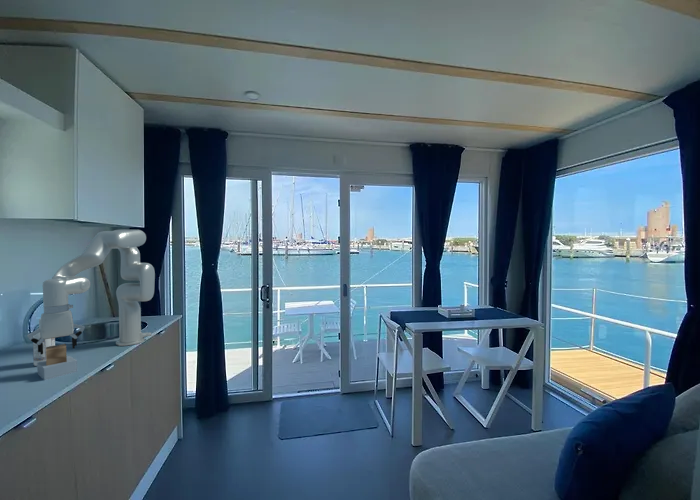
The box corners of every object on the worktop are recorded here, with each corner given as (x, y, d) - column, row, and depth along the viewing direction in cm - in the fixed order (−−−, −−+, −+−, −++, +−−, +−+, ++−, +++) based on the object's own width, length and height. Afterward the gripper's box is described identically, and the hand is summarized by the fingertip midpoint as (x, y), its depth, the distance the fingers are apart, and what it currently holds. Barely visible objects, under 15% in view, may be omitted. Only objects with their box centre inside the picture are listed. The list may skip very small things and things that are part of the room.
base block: (69, 367, 138) (69, 355, 138) (77, 372, 132) (77, 360, 132) (37, 374, 130) (37, 362, 130) (44, 381, 124) (44, 368, 124)
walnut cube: (66, 357, 135) (65, 343, 135) (66, 361, 131) (66, 347, 131) (46, 361, 131) (46, 347, 131) (46, 365, 127) (46, 350, 126)
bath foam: (50, 359, 145) (49, 316, 145) (58, 362, 143) (57, 317, 142) (30, 365, 139) (29, 319, 139) (38, 367, 136) (37, 321, 136)
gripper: (83, 304, 139) (84, 343, 140) (26, 311, 127) (28, 353, 128) (84, 307, 134) (86, 347, 134) (25, 314, 122) (27, 358, 123)
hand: (58, 350), depth 131 cm, fingers open, 9 cm apart
